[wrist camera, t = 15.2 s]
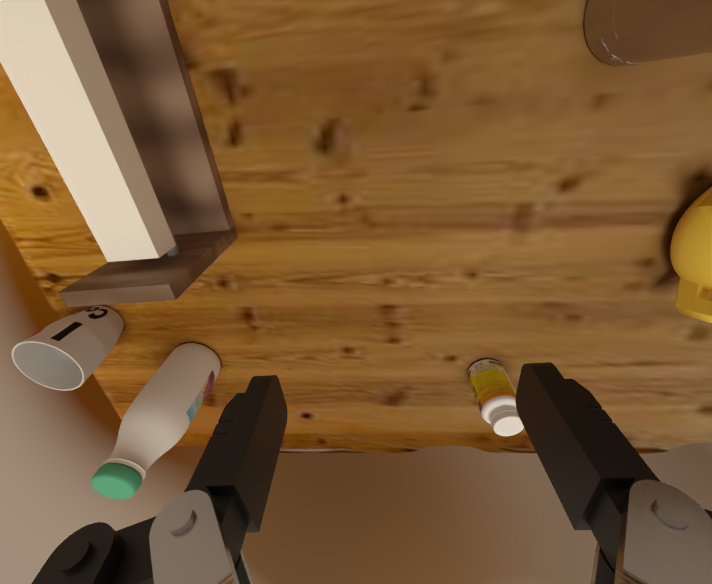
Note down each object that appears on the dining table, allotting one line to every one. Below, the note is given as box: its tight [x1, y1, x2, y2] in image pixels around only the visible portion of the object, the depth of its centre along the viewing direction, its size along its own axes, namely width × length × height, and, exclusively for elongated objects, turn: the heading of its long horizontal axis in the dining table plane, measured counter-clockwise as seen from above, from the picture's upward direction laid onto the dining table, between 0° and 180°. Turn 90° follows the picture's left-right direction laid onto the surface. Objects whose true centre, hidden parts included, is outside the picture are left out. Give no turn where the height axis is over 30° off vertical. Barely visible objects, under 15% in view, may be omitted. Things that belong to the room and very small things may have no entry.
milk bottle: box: [90, 343, 221, 499], centre depth 42 cm, size 8×8×20 cm
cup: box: [12, 306, 124, 391], centre depth 43 cm, size 8×8×10 cm
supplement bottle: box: [468, 359, 524, 436], centre depth 46 cm, size 6×6×10 cm
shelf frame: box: [58, 0, 237, 307], centre depth 28 cm, size 26×10×15 cm, turn 6°
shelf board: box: [0, 0, 176, 262], centre depth 25 cm, size 21×5×3 cm, turn 6°
